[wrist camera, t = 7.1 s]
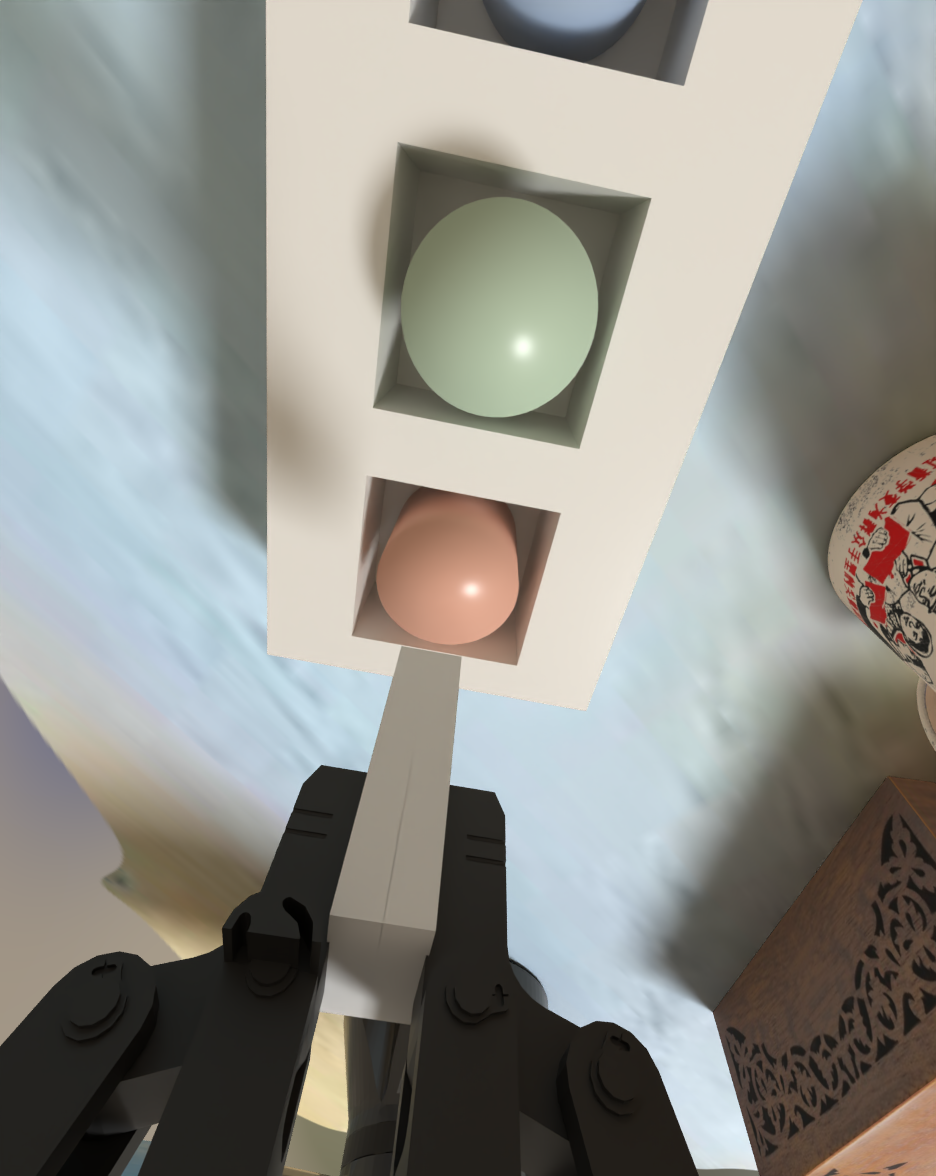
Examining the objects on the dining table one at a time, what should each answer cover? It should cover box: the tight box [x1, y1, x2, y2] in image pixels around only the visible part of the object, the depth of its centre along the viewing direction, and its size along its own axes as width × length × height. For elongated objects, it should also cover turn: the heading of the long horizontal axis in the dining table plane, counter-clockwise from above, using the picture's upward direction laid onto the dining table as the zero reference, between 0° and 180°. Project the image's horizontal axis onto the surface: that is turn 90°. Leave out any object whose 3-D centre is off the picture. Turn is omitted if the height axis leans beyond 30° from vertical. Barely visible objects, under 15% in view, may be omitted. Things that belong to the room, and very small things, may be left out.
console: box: [266, 0, 863, 711], centre depth 16 cm, size 25×12×5 cm, turn 170°
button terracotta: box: [376, 486, 519, 645], centre depth 19 cm, size 5×5×4 cm
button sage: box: [401, 197, 598, 417], centre depth 15 cm, size 5×5×4 cm
